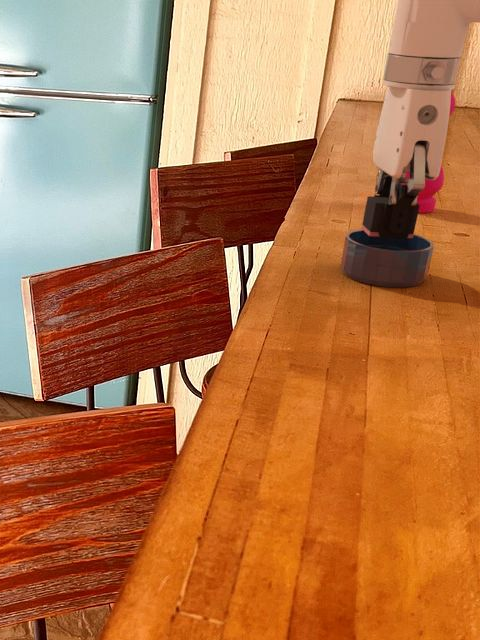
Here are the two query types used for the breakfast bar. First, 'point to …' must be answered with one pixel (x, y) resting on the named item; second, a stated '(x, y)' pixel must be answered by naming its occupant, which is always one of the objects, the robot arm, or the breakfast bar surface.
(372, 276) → the bowl
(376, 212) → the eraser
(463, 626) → the breakfast bar surface
